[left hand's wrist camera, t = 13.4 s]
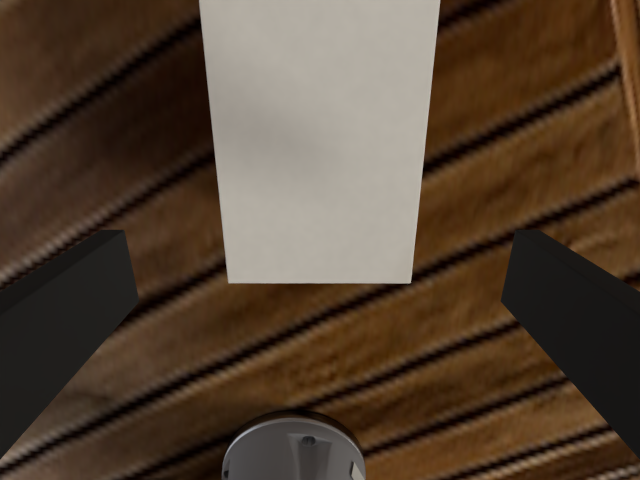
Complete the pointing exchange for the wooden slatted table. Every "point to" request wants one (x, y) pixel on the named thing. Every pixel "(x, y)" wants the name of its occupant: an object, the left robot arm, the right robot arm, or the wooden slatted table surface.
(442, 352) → the wooden slatted table surface
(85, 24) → the wooden slatted table surface
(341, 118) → the cabinet
